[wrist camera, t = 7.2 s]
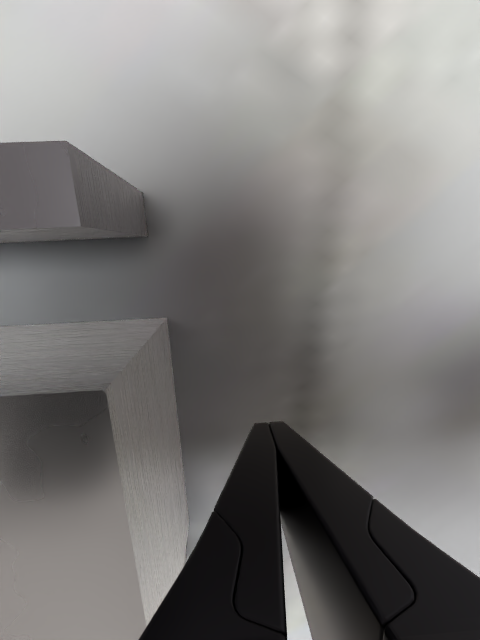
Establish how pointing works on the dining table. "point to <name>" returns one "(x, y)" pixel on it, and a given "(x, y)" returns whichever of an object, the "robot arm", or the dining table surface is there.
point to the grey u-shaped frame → (64, 196)
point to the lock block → (88, 479)
